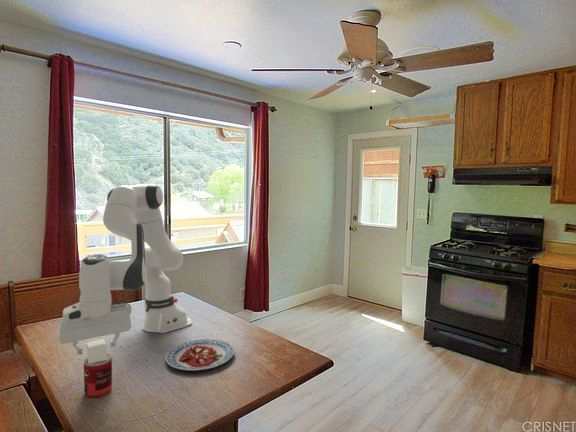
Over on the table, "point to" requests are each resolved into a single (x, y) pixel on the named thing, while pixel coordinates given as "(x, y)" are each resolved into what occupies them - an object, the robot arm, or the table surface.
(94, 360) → the cream block
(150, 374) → the table surface
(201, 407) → the table surface
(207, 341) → the ceramic plate
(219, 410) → the table surface
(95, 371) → the canned food
